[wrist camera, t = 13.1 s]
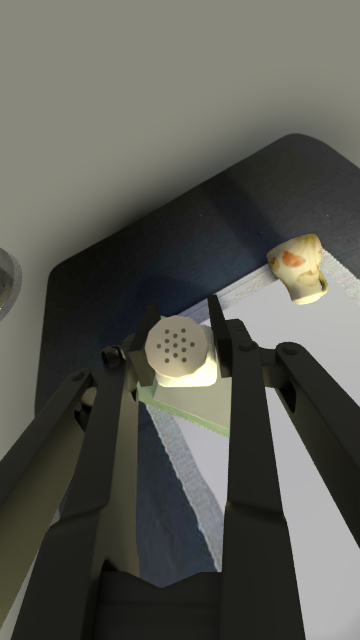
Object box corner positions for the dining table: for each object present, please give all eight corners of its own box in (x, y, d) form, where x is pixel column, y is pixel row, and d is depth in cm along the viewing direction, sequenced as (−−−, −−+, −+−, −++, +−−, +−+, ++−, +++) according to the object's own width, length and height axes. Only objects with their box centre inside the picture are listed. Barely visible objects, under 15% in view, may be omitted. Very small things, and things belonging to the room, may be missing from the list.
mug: (284, 319, 31) (278, 268, 25) (268, 282, 38) (259, 234, 31) (340, 305, 29) (350, 244, 22) (312, 268, 35) (312, 213, 29)
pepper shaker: (213, 340, 19) (213, 304, 10) (216, 384, 18) (219, 387, 9) (172, 342, 20) (138, 310, 11) (172, 385, 18) (134, 388, 10)
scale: (135, 395, 31) (127, 397, 28) (164, 319, 34) (159, 314, 31) (230, 434, 28) (232, 440, 25) (253, 346, 31) (257, 342, 28)
